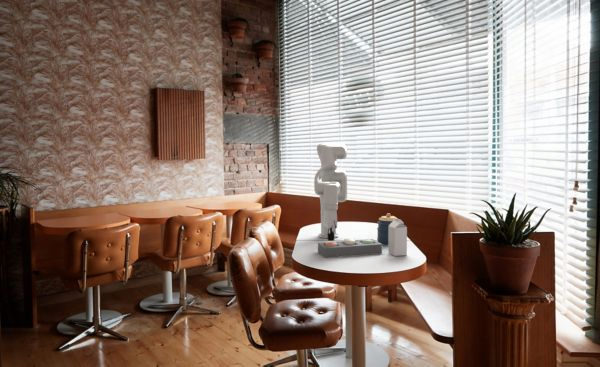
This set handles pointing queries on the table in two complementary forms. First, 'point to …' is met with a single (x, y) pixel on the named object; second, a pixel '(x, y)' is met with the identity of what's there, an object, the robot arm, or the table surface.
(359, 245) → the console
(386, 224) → the canister
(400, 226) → the milk carton
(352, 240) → the button cream
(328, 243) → the button terracotta
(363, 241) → the button sage
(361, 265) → the table surface
